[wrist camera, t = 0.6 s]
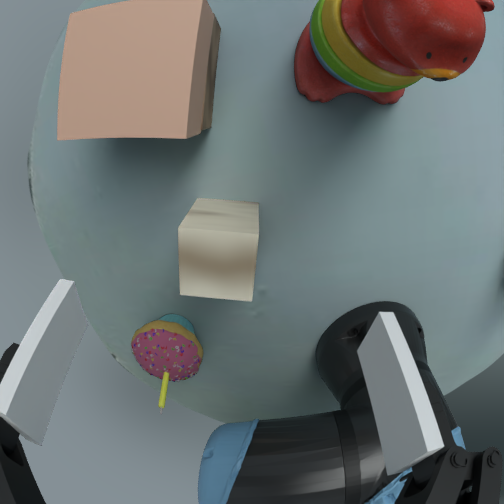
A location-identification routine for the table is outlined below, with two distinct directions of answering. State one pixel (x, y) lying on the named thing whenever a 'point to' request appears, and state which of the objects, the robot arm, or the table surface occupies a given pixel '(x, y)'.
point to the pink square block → (135, 70)
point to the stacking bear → (386, 45)
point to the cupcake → (168, 350)
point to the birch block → (219, 249)
